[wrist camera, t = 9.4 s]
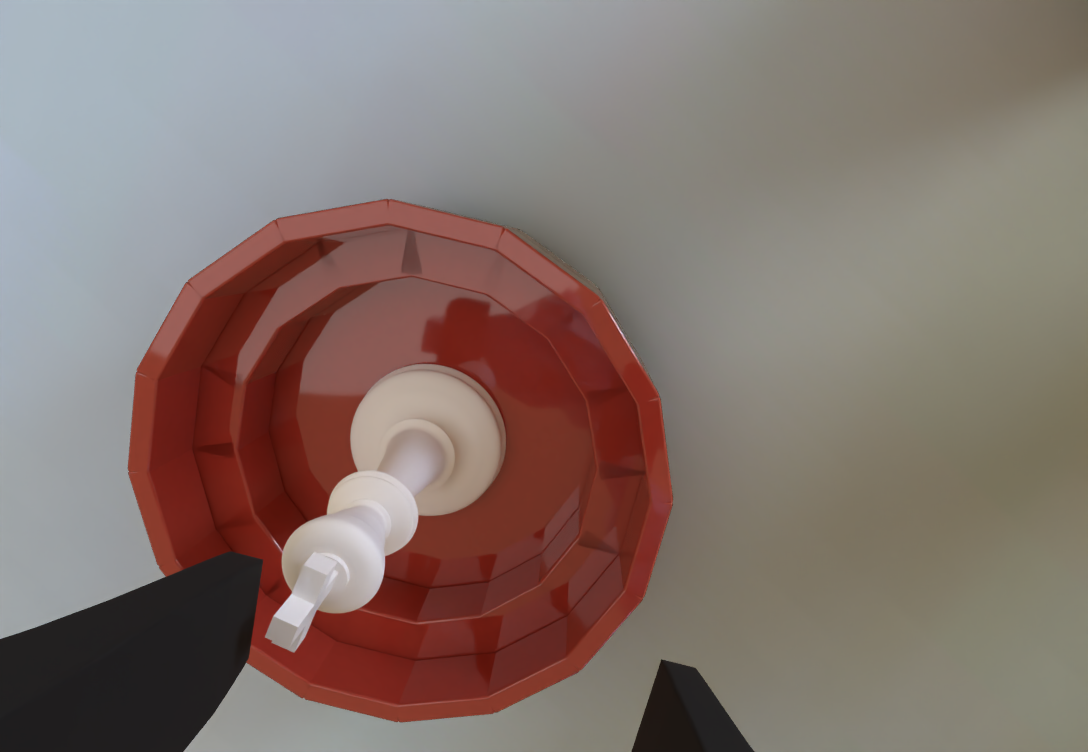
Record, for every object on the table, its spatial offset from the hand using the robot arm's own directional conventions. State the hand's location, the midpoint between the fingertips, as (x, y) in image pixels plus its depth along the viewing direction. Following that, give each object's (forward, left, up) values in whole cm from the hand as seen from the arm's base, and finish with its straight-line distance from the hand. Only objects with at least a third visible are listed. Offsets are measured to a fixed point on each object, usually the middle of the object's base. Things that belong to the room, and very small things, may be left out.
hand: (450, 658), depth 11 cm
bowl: (+1, +3, -10) cm, 10 cm away
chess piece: (+1, +3, -10) cm, 10 cm away
